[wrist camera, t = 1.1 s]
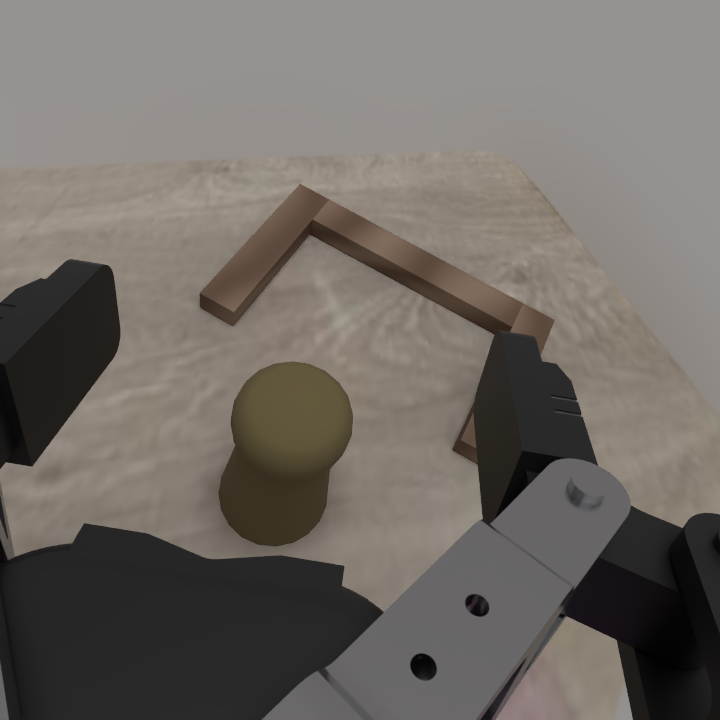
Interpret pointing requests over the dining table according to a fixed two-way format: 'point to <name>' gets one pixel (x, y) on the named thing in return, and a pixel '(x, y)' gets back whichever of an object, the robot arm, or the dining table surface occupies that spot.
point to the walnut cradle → (378, 251)
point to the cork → (283, 452)
